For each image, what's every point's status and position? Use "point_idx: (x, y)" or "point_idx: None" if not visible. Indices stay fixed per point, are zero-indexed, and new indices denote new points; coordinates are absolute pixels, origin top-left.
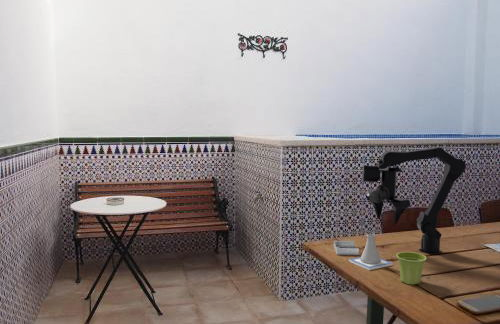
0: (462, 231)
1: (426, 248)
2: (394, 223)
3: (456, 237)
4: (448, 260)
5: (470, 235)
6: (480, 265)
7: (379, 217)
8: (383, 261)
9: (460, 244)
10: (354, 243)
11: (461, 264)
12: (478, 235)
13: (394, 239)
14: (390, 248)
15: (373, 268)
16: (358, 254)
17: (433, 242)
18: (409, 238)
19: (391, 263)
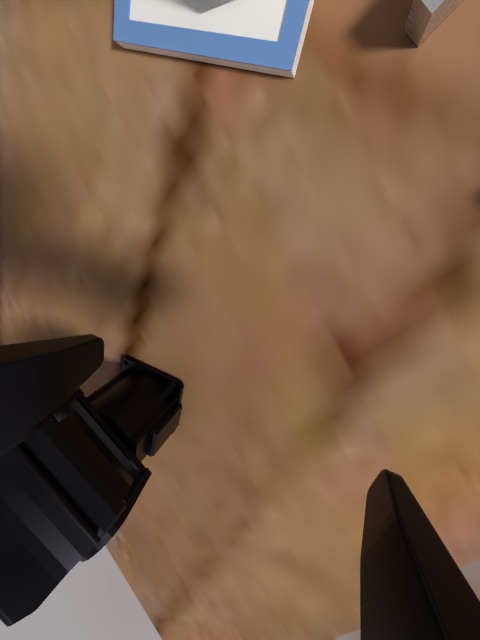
0: (212, 632)
1: (138, 379)
2: (100, 338)
3: (191, 574)
4: (64, 327)
5: (177, 598)
6: (3, 337)
7: (373, 501)
8: (160, 17)
9: (144, 510)
10: None
11: (24, 311)
12: (164, 600)
13: (356, 500)
14: (294, 345)
15: None
16: (407, 25)
17: (90, 396)
18: (304, 531)
19: (115, 34)
